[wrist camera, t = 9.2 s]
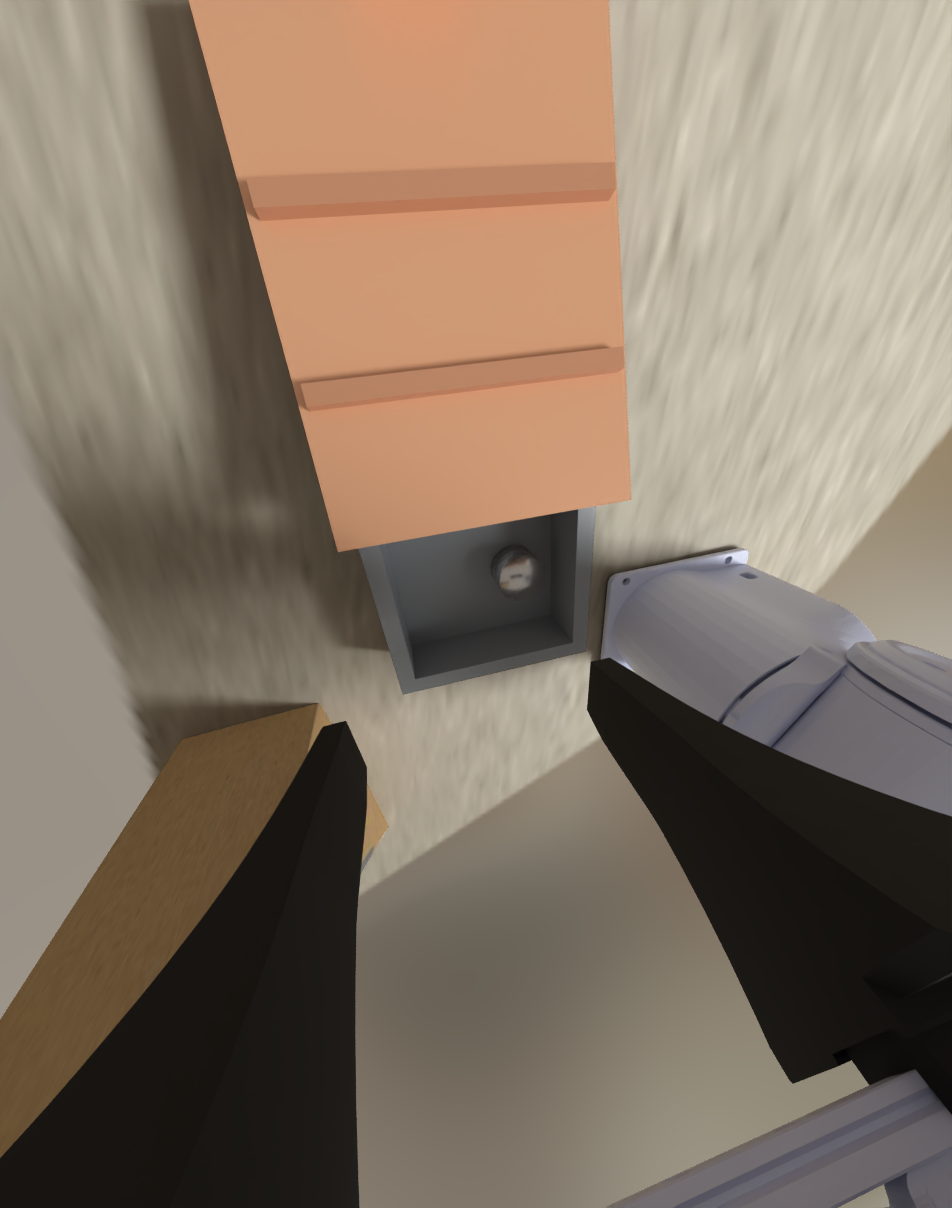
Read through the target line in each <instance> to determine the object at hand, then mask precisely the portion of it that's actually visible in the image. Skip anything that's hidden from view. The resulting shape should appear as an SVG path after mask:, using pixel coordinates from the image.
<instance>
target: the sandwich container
mask: <svg viewBox="0 0 952 1208" xmlns="http://www.w3.org/2000/svg"><path fill="white" fill-rule="evenodd" d="M331 724H332V723H331V721H330V719H329V718H328V716H327V715H326V713H325V711H324V710H323V708H322V707H321V705H320V704H319V703H316V704H312V705H309V706H305V707H301V708H297V709H294V710H290V711H286V712H282V713H278V714H275V715H271V716H267V717H263V718H260V719H256V720H252V721H248V722H245V723H241V724H237V725H233V726H230V727H226V728H222V729H219V730H215V731H211V732H208V733H204V734H200V735H196V736H193V737H189V738H185V739H182V740H181V741H180V743H179V744H178V746H177V747H176V749H175V751H174V752H173V754H172V755H171V757H170V758H169V760H168V761H167V763H166V764H165V766H164V767H163V769H162V771H161V772H160V774H159V775H158V777H157V778H156V780H155V781H154V783H153V784H152V786H151V788H150V789H149V791H148V792H147V794H146V795H145V797H144V798H143V800H142V802H141V803H140V804H139V806H138V808H137V809H136V811H135V812H134V814H133V815H132V817H131V818H130V820H129V821H128V823H127V825H126V826H125V828H124V829H123V831H122V832H121V834H120V836H119V837H118V839H117V840H116V842H115V843H114V845H113V846H112V848H111V849H110V851H109V852H108V854H107V856H106V857H105V859H104V860H103V862H102V864H101V865H100V866H99V868H98V870H97V871H96V873H95V874H94V876H93V877H92V879H91V880H90V882H89V883H88V885H87V886H86V888H85V890H84V891H83V893H82V894H81V896H80V897H79V899H78V900H77V902H76V904H75V905H74V907H73V908H72V910H71V911H70V913H69V914H68V916H67V917H66V919H65V920H64V922H63V924H62V925H61V927H60V928H59V930H58V931H57V933H56V934H55V936H54V937H53V939H52V941H51V942H50V944H49V945H48V947H47V948H46V950H45V952H44V953H43V954H42V956H41V958H40V959H39V961H38V962H37V964H36V965H35V967H34V968H33V970H32V972H31V973H30V975H29V976H28V978H27V979H26V981H25V982H24V984H23V985H22V987H21V989H20V990H19V992H18V993H17V995H16V996H15V998H14V1000H13V1001H12V1003H11V1004H10V1006H9V1007H8V1009H7V1010H6V1012H5V1013H4V1015H3V1016H2V1018H1V1019H0V1158H1V1157H2V1155H3V1154H4V1153H5V1152H6V1151H7V1150H8V1149H9V1148H10V1147H11V1145H12V1144H13V1143H14V1142H15V1141H16V1140H17V1139H18V1138H19V1137H20V1136H21V1134H22V1133H23V1132H24V1131H25V1130H26V1129H27V1128H28V1127H29V1126H30V1125H31V1123H32V1122H33V1121H34V1120H35V1119H36V1118H37V1117H38V1116H39V1115H40V1113H41V1112H42V1111H43V1110H44V1109H45V1108H46V1107H47V1106H48V1105H49V1103H50V1102H51V1101H52V1100H53V1099H54V1098H55V1097H56V1095H57V1094H58V1093H59V1092H60V1091H61V1090H62V1088H63V1087H64V1086H65V1085H66V1084H67V1083H68V1082H69V1080H70V1079H71V1078H72V1077H73V1076H74V1075H75V1074H76V1072H77V1071H78V1070H79V1069H80V1068H81V1066H82V1065H83V1064H84V1063H85V1062H86V1060H87V1059H88V1058H89V1057H90V1056H91V1055H92V1053H93V1052H94V1051H95V1050H96V1049H97V1047H98V1046H99V1045H100V1044H101V1043H102V1042H103V1040H104V1039H105V1038H106V1037H107V1036H108V1034H109V1033H110V1032H111V1031H112V1030H113V1028H114V1027H115V1026H116V1025H117V1024H118V1023H119V1021H120V1020H121V1019H122V1018H123V1017H124V1015H125V1014H126V1013H127V1012H128V1011H129V1009H130V1008H131V1007H132V1006H133V1005H134V1004H135V1002H136V1001H137V1000H138V999H139V998H140V996H141V995H142V994H143V993H144V991H145V990H146V989H147V988H148V987H149V985H150V984H151V983H152V982H153V980H154V979H155V978H156V977H157V975H158V974H159V973H160V972H161V970H162V969H163V968H164V967H165V965H166V964H167V963H168V961H169V960H170V959H171V958H172V956H173V955H174V954H175V952H176V951H177V950H178V948H179V947H180V946H181V944H182V943H183V942H184V941H185V939H186V938H187V937H188V935H189V934H190V933H191V931H192V930H193V929H194V928H195V926H196V925H197V924H198V922H199V921H200V920H201V918H202V917H203V916H204V914H205V913H206V912H207V910H208V909H209V908H210V906H211V905H212V903H213V902H214V901H215V899H216V898H217V896H218V895H219V894H220V892H221V891H222V890H223V888H224V887H225V885H226V884H227V882H228V881H229V880H230V878H231V877H232V875H233V874H234V872H235V871H236V869H237V868H238V867H239V865H240V864H241V862H242V861H243V859H244V858H245V856H246V855H247V853H248V852H249V850H250V849H251V847H252V845H253V844H254V842H255V841H256V839H257V838H258V836H259V835H260V833H261V831H262V830H263V828H264V827H265V825H266V824H267V822H268V821H269V819H270V817H271V816H272V814H273V813H274V811H275V809H276V808H277V806H278V804H279V802H280V801H281V799H282V797H283V796H284V794H285V792H286V791H287V789H288V787H289V786H290V784H291V782H292V781H293V779H294V777H295V775H296V773H297V772H298V770H299V768H300V766H301V765H302V763H303V761H304V759H305V757H306V756H307V754H308V752H309V750H310V748H311V747H312V745H313V743H314V741H315V739H316V737H317V736H318V734H319V732H320V730H321V729H322V727H323V726H327V725H331ZM388 828H389V826H388V824H387V822H386V820H385V818H384V816H383V814H382V812H381V810H380V808H379V806H378V804H377V802H376V800H375V798H374V796H373V794H372V792H371V790H370V788H369V786H368V784H367V813H366V824H365V835H364V845H363V855H362V865H361V872H362V871H363V869H364V867H365V866H366V864H367V862H368V860H369V859H370V857H371V855H372V854H373V852H374V850H375V849H376V847H377V845H378V844H379V842H380V840H381V839H382V837H383V836H384V834H385V832H386V831H387V829H388Z"/></svg>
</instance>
